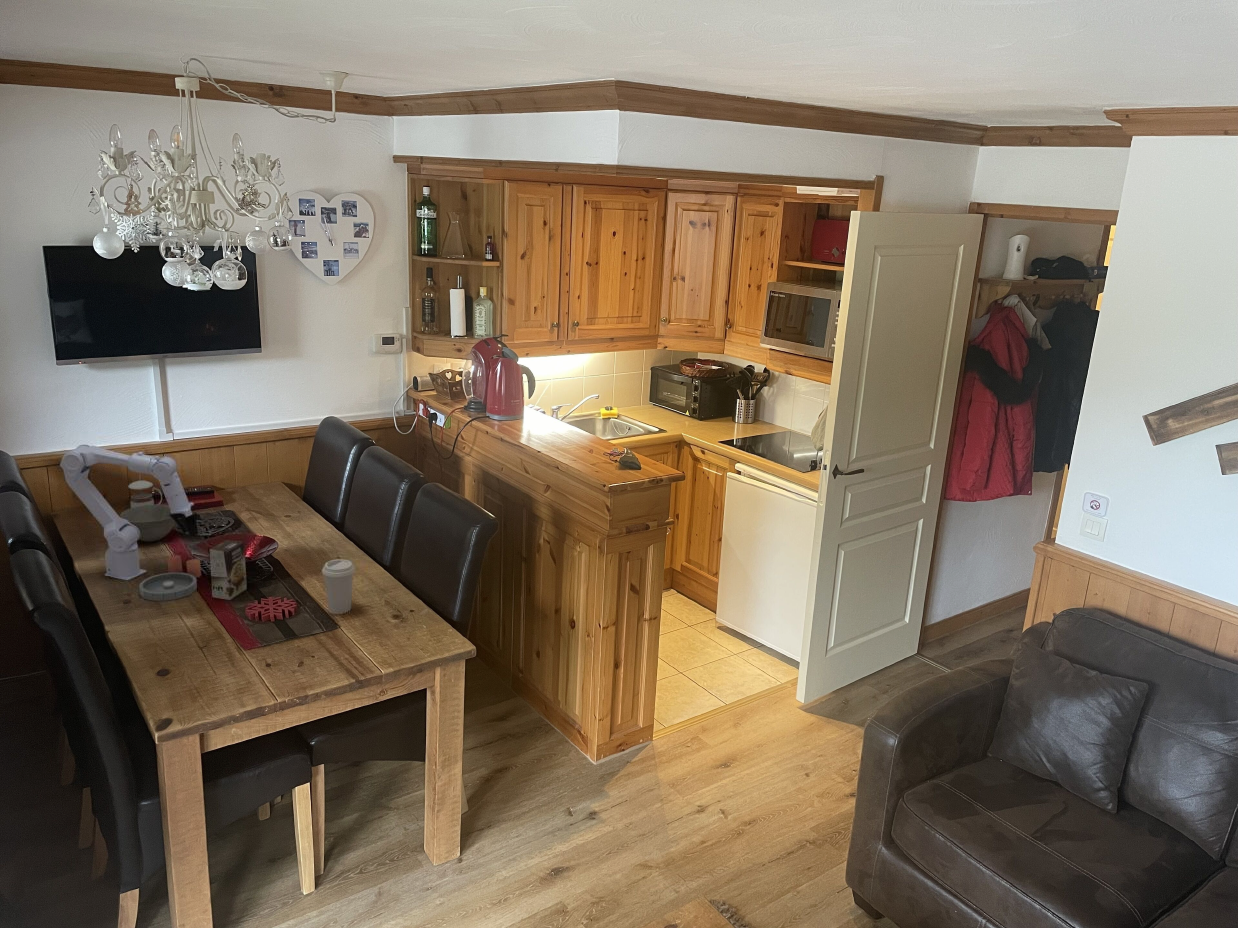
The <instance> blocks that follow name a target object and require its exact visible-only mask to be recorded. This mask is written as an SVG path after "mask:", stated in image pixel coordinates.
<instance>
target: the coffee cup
mask: <svg viewBox="0 0 1238 928" xmlns="http://www.w3.org/2000/svg"><path fill="white" fill-rule="evenodd" d="M355 571H356V569H355V566H354V564H353V562H352V561H351V560H348V559H337V558H336V559H332V560H329V561H327V562H325V564H324V566H323V568H322V569H321V572H322V574H323V578H324V585H325V591H326V601H327V608H328V612H329V613H330V614H333V615H344V614H343V613H345V614H347V613H349V612H350V611H351V610H352V597H353V582H354V581H353V580H354V572H355ZM348 611H349V612H348ZM346 612H347V613H346Z"/></svg>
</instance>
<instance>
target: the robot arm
mask: <svg viewBox="0 0 1238 928" xmlns="http://www.w3.org/2000/svg"><path fill="white" fill-rule="evenodd" d="M98 463H103V464H112V465H117V466H123V467H124V466H125V467H127V468H128V469H129V470H130V471H131V472H135V473H139V472H140V474H147V475H151V476H153V477H154V478H155V479H156V480H158V482H159V484H160V487H161V489H162V492H163V494H164V497H165V500H166V502H167V505H169V507H170V512H171V513H173V514H170V515H169V516H170V517H171V518H172V519H173V520H174V521H175V523H176V525H177V526H178V528H179V529H180V531H181V532H182V533H183V534H186V533H188V535H189V536H190V537H194V536H196V535H198V534H199V532H198V524H197V522H198V521H197V518H198V512H197V511H194V512H192V510H191V509H192V506H195V504H194V502H193V501H192V502H189V499H188V496H187V495H186V494H187V493H186V491H185V489H184V487H183V484H182V481H181V479H180V477H179V473H178V472H177V469H178V462H177V461H176V460H175V458H173V457H171V456H168V455H165V456H162V457H160V455H159V456H158V455H155V456H153V455H149V454H144V452H143V451H139V452H135V453H132V454H131V455H130V454H124V453H121V452H116V451H112V450H109V449H104V448H100V447H99V446H97V445H89V444H80V445H77V447H75V448H73V449H72V450H70V451H68V452H66V453H64V454H63V456H62V458H61V461H60V463H59V466H60V467H61V469H62V470H63V475H64V478H65V481H66V483H67V485H68V486H69V488H70V489H71V490H72V491H73V493H75V495H76V496H77V497H78V498H79V500H80V501H81V502H82V503H83V504H84V506H85V507H86V508H87V509H88V510H89V512H90V513H91V514H92V515H93V517H94V518H95V519H96V520H97V522H99V524H100V525H101V527H102V528H103V537H104V538H105V539H106V542H107V545H108V548H107V550H106V551H105V555H104V559H105V569H106V573H104V576H105V577H109V576H110V578H115V579H119V580H123V581H130V580H132V579H134V578H136V577H138V576H141V575H143V574H144V573H147V570H146V569H142V568H140V567H141V566H140V557H139V556H140V555H139V546H138V540H139V537H140V531H139V529H138V528H137V527H136V526H134V525H132V524H130V523H129V522H128V520H126V519H123V518H120V515H118V514H117V512H116V510H114V508H113V507H112V506H111V505H110V503H108V501H107V500H106V498H104V496H103V495H102V494H101V492H100V491H99V490H98V489H97V487H96V486H95V485H94V484H93V483H92V482H91V480H90V479H89V478H88V476H89V472H90V468H91V466H93V465H96V464H98Z"/></svg>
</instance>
